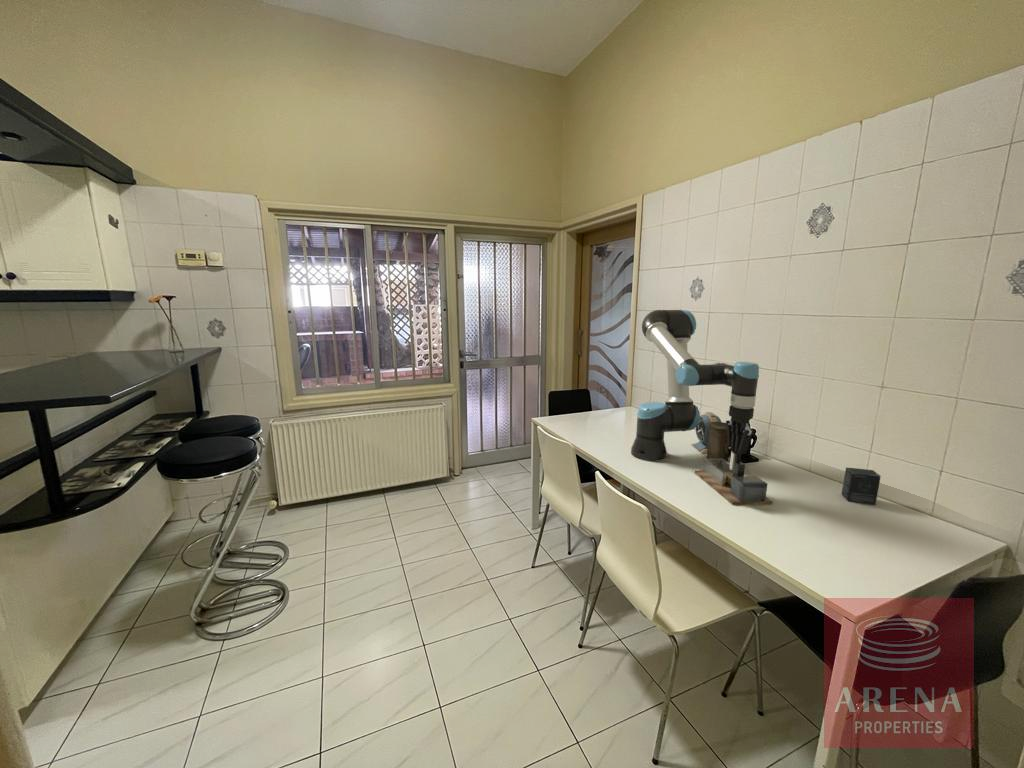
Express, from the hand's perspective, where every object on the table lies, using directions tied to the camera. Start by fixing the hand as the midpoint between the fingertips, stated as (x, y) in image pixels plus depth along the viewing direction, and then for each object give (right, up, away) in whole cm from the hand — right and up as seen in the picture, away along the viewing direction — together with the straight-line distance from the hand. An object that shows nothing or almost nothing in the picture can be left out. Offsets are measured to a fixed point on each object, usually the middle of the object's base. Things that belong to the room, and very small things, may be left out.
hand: (734, 469), depth 146 cm
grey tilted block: (0, -5, +8) cm, 10 cm away
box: (+39, -10, -7) cm, 41 cm away
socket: (0, -8, -8) cm, 11 cm away
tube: (0, -7, -3) cm, 7 cm away
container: (+5, -4, +22) cm, 23 cm away
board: (0, -7, +2) cm, 8 cm away
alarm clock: (+10, 0, +41) cm, 42 cm away
